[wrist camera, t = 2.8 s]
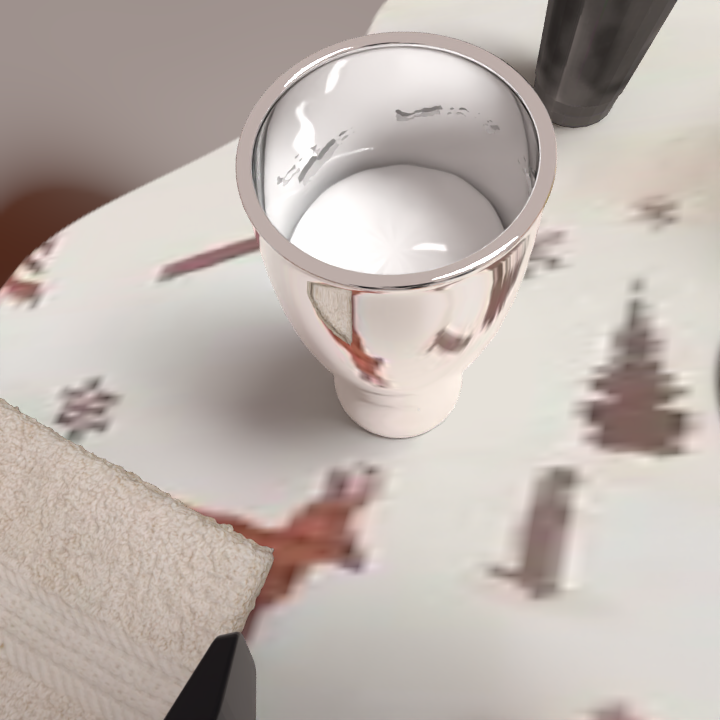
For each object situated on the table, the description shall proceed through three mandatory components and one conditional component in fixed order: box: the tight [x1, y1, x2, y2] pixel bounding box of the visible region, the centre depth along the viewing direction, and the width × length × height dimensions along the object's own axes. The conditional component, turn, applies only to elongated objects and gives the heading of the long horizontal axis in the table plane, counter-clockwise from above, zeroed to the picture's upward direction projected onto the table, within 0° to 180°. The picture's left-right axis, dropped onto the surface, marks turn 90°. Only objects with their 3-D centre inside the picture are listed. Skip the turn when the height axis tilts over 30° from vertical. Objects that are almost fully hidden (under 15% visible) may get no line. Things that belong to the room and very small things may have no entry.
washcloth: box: [0, 398, 274, 720], centre depth 21 cm, size 12×18×3 cm, turn 64°
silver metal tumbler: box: [236, 32, 557, 438], centre depth 17 cm, size 7×7×15 cm
